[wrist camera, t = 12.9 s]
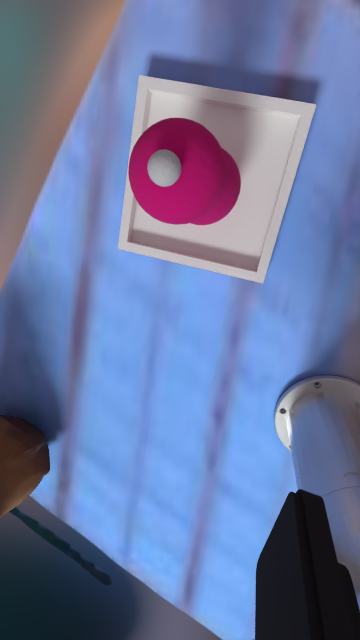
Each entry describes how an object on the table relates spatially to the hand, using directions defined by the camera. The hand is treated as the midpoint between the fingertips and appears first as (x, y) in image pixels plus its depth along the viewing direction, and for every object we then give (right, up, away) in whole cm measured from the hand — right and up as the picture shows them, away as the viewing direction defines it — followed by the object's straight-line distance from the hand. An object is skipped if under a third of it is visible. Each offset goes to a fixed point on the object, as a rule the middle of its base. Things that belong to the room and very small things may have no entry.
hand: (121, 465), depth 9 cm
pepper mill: (+5, +18, +25) cm, 32 cm away
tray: (+5, +19, +26) cm, 32 cm away
